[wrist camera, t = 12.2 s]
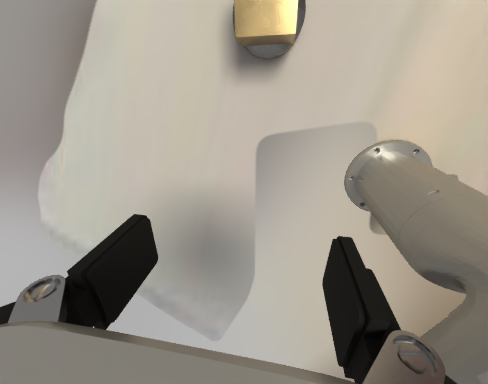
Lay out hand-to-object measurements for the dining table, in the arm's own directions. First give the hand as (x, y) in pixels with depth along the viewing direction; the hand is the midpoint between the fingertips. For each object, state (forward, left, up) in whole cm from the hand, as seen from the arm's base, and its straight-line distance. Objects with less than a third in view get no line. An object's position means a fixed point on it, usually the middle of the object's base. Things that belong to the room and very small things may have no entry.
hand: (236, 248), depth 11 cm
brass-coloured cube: (0, -15, -26) cm, 30 cm away
